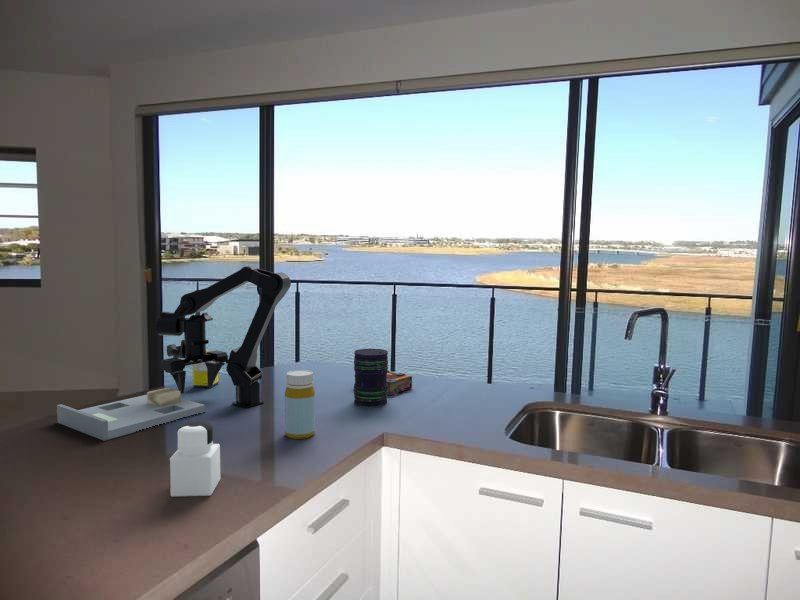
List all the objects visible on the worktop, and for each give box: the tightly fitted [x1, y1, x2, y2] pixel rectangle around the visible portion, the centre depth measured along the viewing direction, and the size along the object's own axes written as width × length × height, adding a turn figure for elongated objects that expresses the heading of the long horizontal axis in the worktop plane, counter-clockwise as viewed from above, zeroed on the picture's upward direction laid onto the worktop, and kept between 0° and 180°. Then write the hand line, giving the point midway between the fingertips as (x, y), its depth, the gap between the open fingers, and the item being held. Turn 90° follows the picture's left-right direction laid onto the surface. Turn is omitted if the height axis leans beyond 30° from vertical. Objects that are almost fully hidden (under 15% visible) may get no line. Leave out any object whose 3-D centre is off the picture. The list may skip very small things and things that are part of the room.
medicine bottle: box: [169, 420, 221, 498], centre depth 99 cm, size 7×7×12 cm
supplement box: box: [192, 350, 220, 389], centre depth 173 cm, size 6×6×11 cm
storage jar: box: [353, 348, 389, 408], centre depth 156 cm, size 10×10×15 cm
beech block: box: [146, 387, 182, 407], centre depth 147 cm, size 6×6×3 cm
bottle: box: [284, 369, 316, 440], centre depth 128 cm, size 7×7×15 cm
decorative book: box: [387, 370, 413, 397], centre depth 173 cm, size 11×16×5 cm
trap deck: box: [56, 394, 206, 442], centre depth 140 cm, size 22×27×4 cm
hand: (196, 390), depth 155 cm, fingers open, 9 cm apart
